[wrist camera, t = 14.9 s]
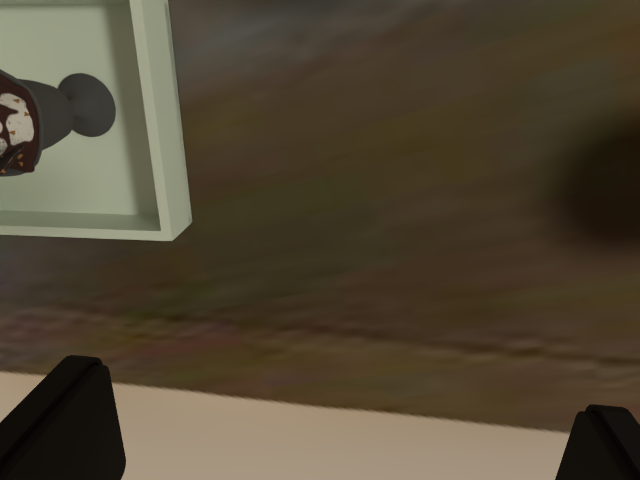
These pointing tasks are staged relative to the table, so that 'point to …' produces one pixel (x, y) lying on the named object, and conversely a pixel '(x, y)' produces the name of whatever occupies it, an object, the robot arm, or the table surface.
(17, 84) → the sundae
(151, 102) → the box
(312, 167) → the table surface
